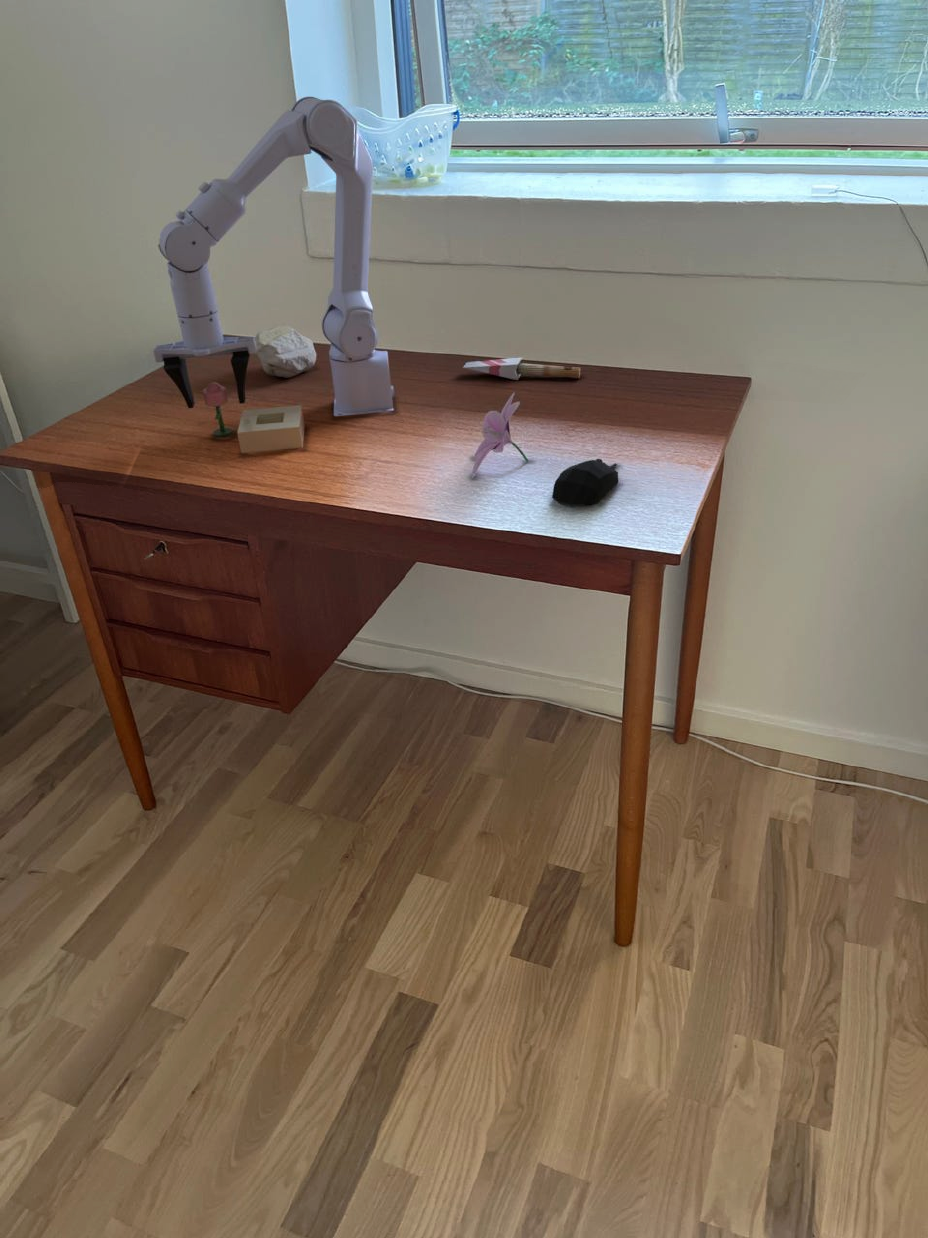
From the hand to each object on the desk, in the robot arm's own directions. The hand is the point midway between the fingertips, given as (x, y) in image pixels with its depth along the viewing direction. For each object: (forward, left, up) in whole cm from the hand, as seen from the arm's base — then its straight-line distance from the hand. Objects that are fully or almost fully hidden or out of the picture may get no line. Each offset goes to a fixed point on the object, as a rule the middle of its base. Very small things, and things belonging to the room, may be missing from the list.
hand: (217, 403), depth 140 cm
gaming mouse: (-51, +30, -6) cm, 59 cm away
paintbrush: (-49, -15, -6) cm, 52 cm away
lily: (-40, +20, -6) cm, 45 cm away
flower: (0, 0, -5) cm, 5 cm away
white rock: (-9, -28, -6) cm, 30 cm away
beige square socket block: (-8, +4, -5) cm, 10 cm away
